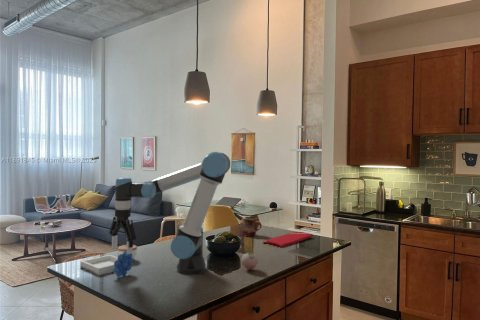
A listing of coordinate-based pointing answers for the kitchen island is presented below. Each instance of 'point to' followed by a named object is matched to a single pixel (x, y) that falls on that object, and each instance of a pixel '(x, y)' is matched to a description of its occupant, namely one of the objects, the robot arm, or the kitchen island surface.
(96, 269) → the tray
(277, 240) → the dish drying mat
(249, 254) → the decorative fruit
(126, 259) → the grapes
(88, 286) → the kitchen island surface
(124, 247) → the lidded jar
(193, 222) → the robot arm
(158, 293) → the kitchen island surface
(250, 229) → the decorative planter
